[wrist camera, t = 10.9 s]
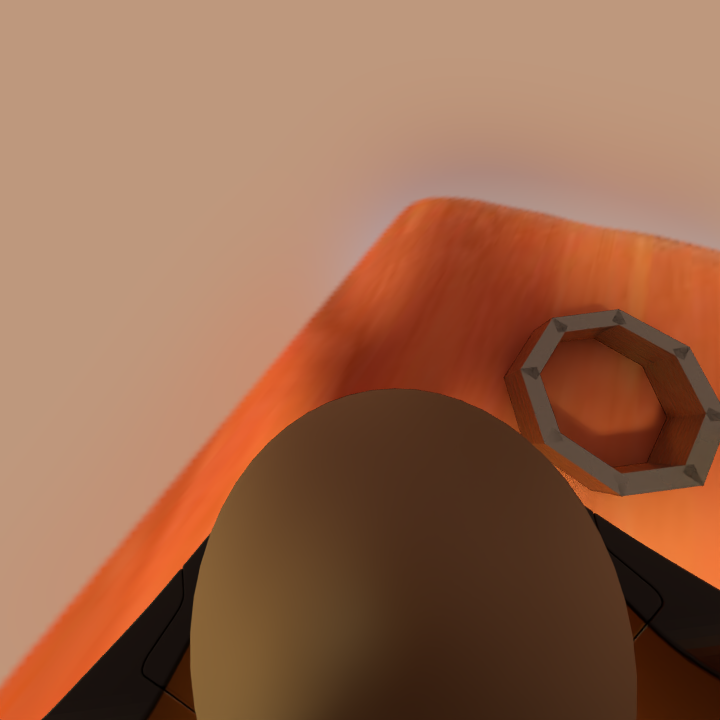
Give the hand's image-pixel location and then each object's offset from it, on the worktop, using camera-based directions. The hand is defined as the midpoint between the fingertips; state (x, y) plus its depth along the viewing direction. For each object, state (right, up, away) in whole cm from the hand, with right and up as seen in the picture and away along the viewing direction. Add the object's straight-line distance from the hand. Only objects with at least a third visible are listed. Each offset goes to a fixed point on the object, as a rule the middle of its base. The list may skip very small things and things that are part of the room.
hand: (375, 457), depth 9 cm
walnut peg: (0, -3, +6) cm, 7 cm away
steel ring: (+14, +1, +8) cm, 16 cm away
